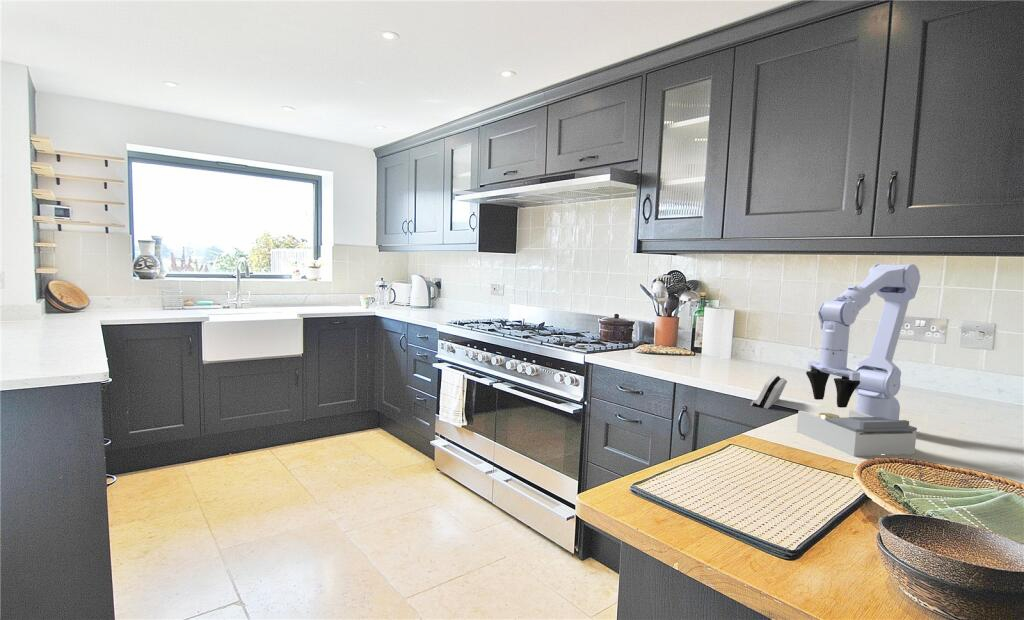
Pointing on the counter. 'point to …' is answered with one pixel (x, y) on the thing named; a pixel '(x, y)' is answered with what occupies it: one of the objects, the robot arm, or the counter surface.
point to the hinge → (770, 392)
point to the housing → (856, 437)
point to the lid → (872, 424)
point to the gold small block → (828, 415)
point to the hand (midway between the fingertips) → (829, 403)
